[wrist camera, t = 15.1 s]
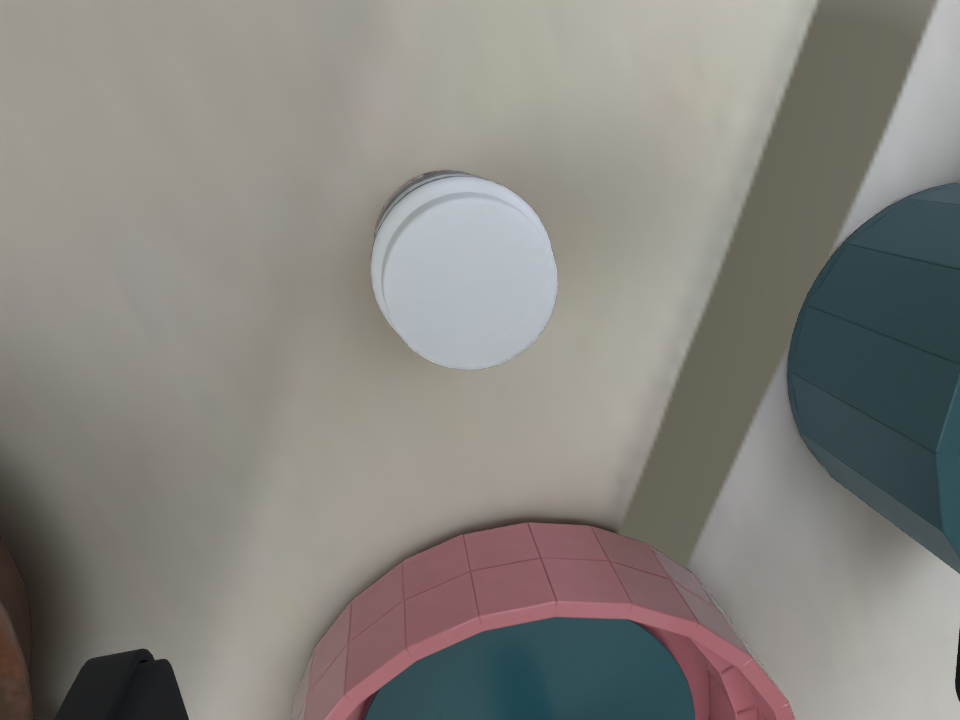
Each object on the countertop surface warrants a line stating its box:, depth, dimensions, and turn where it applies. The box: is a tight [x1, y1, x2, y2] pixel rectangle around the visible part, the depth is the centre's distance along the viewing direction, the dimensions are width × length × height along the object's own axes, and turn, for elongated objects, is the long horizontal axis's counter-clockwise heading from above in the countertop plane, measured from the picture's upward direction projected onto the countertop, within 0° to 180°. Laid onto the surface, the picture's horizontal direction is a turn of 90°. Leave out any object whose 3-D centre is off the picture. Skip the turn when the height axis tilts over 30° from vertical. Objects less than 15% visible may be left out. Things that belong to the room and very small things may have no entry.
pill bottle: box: [371, 170, 558, 370], centre depth 21 cm, size 5×5×8 cm
